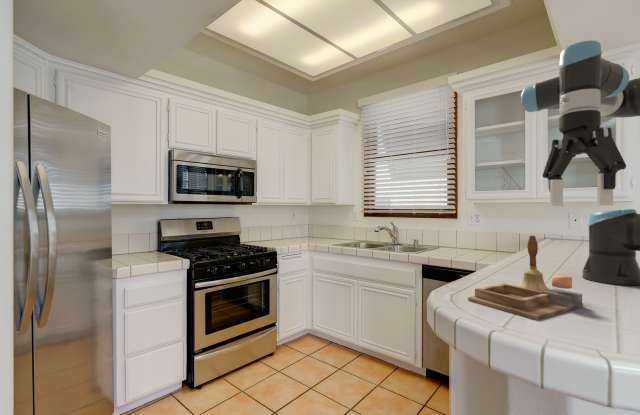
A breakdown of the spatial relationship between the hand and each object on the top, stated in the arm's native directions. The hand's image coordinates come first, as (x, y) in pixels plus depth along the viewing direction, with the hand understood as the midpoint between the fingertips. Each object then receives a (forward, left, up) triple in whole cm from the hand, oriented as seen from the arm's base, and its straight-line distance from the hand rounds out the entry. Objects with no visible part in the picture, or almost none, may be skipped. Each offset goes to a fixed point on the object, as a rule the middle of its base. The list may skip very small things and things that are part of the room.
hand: (578, 205), depth 76 cm
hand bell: (-13, -17, -25) cm, 33 cm away
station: (+3, -10, -25) cm, 27 cm away
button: (-3, -5, -20) cm, 21 cm away
